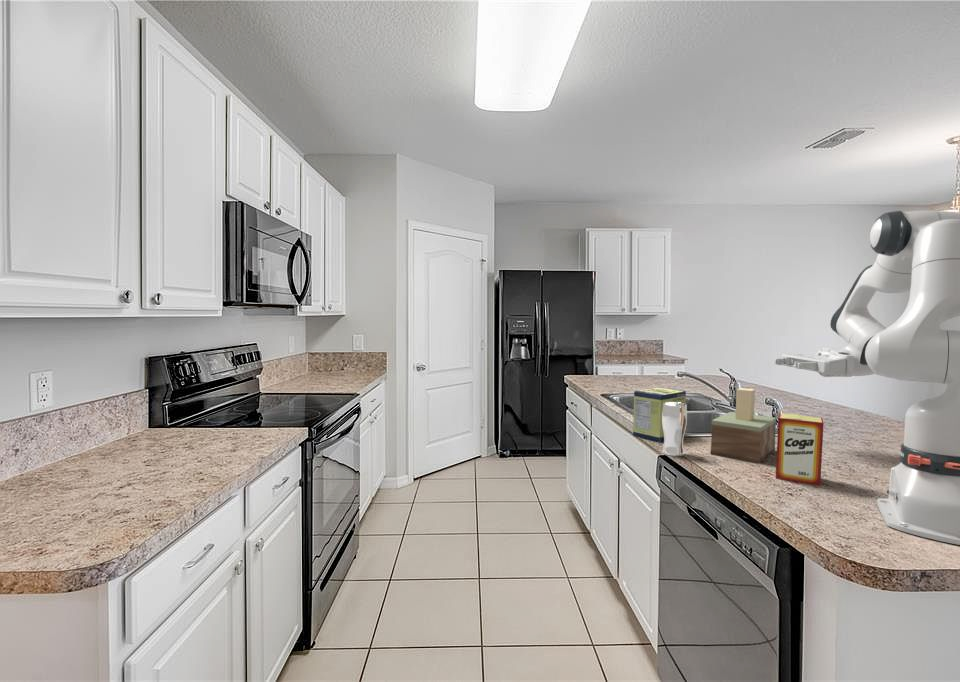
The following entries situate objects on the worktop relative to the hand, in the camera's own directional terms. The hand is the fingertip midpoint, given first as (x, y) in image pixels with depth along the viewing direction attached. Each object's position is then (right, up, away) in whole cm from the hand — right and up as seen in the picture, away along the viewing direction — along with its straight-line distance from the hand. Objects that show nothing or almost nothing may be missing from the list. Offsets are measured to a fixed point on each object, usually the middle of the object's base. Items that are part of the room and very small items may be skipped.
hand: (786, 363), depth 151 cm
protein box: (-31, -26, +21) cm, 45 cm away
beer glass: (-34, -27, -1) cm, 44 cm away
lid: (-12, -19, 0) cm, 23 cm away
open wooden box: (-13, -27, +1) cm, 30 cm away
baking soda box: (-11, -29, -22) cm, 38 cm away
